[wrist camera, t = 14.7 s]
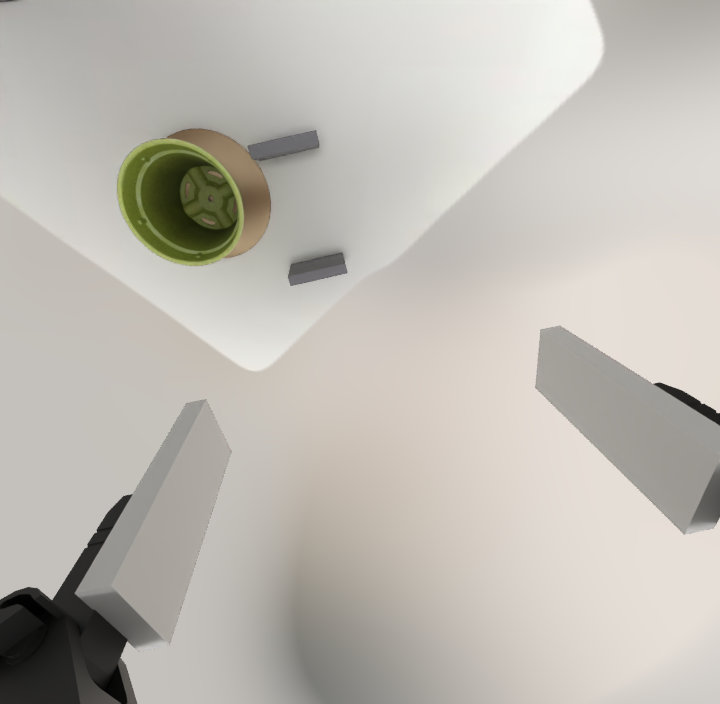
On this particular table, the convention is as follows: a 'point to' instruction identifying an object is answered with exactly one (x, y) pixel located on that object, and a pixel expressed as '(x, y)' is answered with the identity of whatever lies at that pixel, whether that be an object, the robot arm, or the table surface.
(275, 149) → the twin grey plates
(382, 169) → the table surface
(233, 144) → the coaster
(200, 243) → the plant pot
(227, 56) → the table surface
